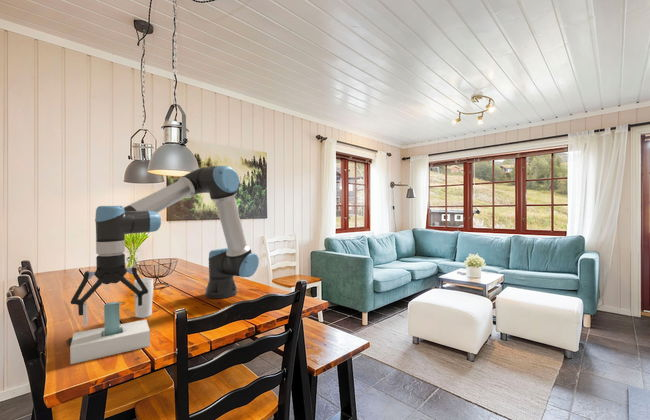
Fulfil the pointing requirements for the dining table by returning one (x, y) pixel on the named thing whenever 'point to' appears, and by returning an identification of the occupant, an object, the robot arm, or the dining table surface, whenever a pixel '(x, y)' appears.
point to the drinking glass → (145, 298)
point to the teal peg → (112, 318)
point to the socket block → (109, 341)
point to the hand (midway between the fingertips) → (112, 320)
